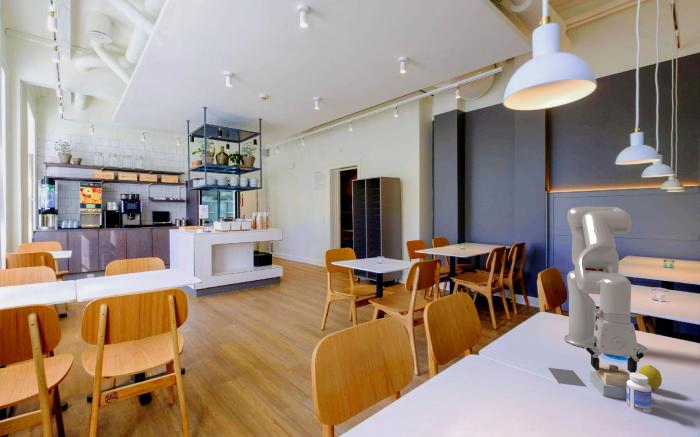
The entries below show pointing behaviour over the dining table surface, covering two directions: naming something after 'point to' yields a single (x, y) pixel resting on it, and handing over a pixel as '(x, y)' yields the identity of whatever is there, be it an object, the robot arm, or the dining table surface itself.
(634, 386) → the pill bottle
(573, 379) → the grey rectangular plate
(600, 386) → the grey square container
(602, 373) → the lid
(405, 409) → the dining table surface
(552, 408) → the dining table surface
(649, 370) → the lemon
